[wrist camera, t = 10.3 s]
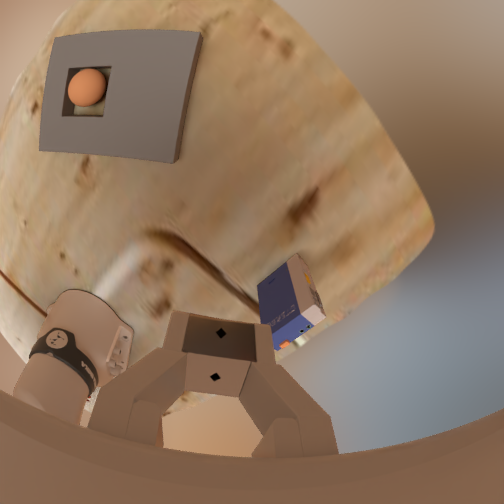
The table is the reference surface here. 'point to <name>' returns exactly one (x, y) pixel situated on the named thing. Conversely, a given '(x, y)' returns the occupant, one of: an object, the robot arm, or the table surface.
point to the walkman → (289, 302)
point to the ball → (87, 87)
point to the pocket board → (122, 93)
